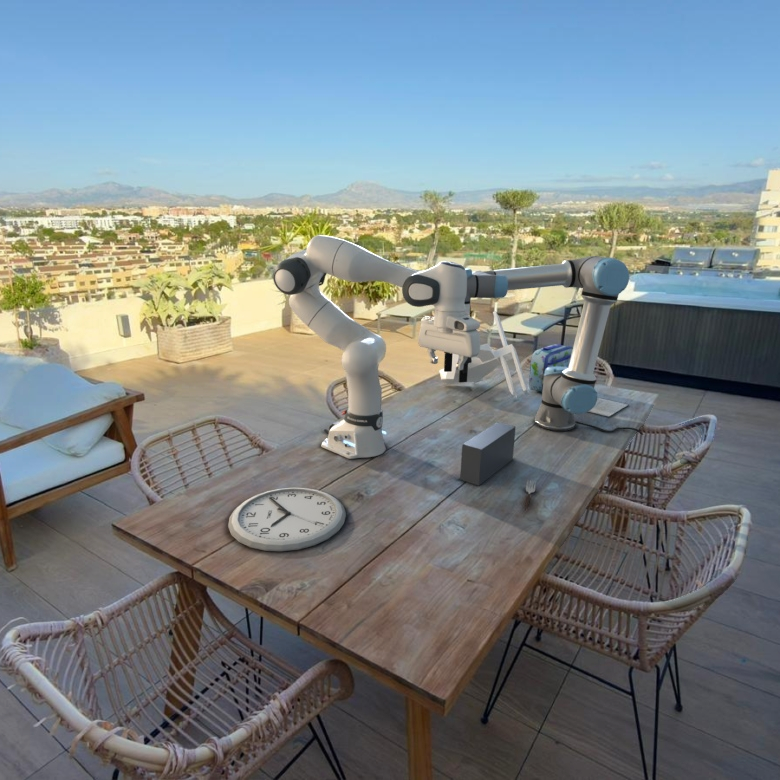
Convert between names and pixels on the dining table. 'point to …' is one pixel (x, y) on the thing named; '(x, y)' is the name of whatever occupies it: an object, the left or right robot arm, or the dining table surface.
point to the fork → (529, 490)
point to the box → (487, 453)
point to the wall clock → (287, 519)
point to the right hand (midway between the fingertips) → (455, 376)
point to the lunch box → (547, 363)
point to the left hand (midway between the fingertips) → (446, 366)
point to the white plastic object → (488, 363)
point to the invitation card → (607, 407)
